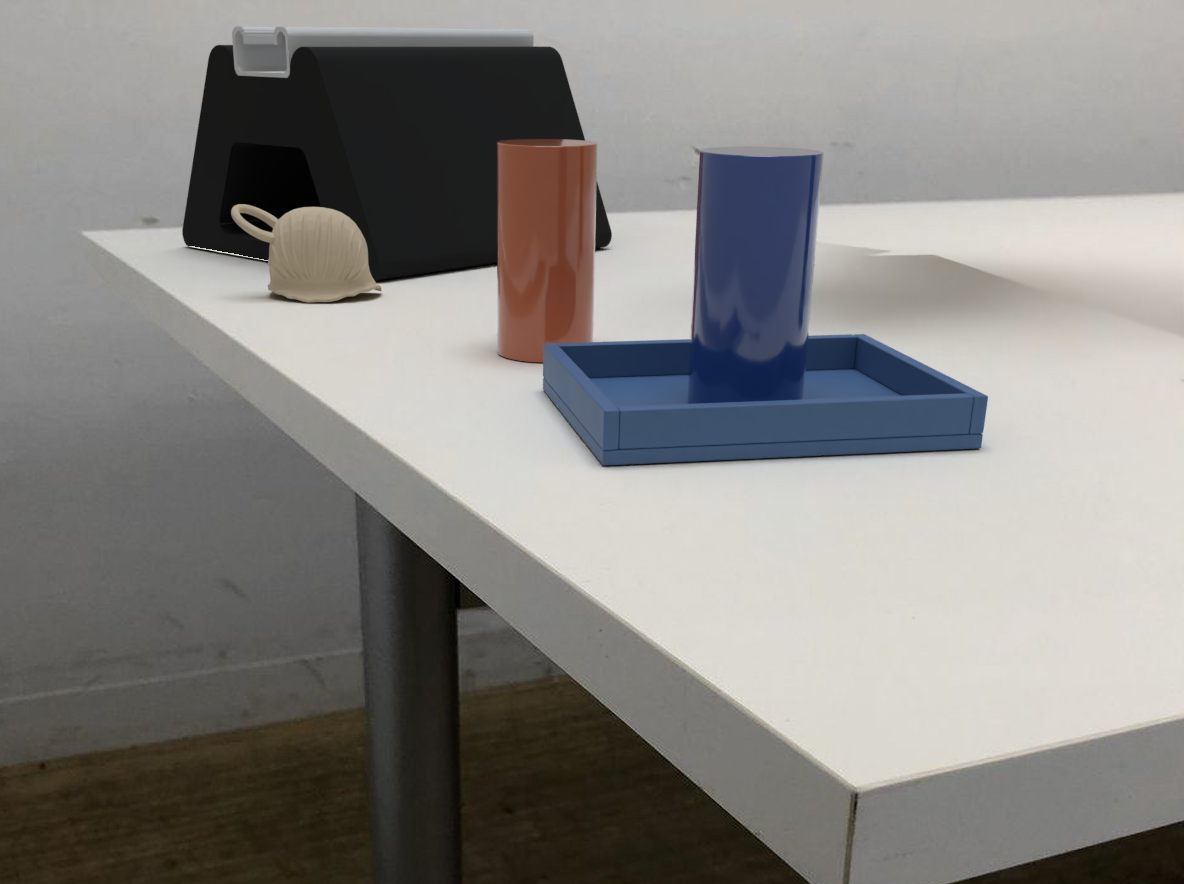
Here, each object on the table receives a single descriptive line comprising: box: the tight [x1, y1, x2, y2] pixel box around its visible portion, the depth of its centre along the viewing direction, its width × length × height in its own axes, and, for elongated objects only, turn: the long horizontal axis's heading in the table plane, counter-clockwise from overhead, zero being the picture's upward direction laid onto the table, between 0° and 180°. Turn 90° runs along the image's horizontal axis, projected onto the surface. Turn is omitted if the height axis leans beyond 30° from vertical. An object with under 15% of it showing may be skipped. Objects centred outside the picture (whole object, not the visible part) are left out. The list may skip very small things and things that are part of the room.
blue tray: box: [542, 333, 989, 466], centre depth 58 cm, size 15×12×2 cm
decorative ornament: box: [231, 204, 382, 303], centre depth 83 cm, size 4×8×5 cm, turn 84°
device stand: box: [181, 25, 613, 282], centre depth 101 cm, size 22×22×15 cm
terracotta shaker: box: [496, 139, 598, 364], centre depth 68 cm, size 5×5×10 cm
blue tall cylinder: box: [687, 146, 825, 404], centre depth 56 cm, size 5×5×10 cm
